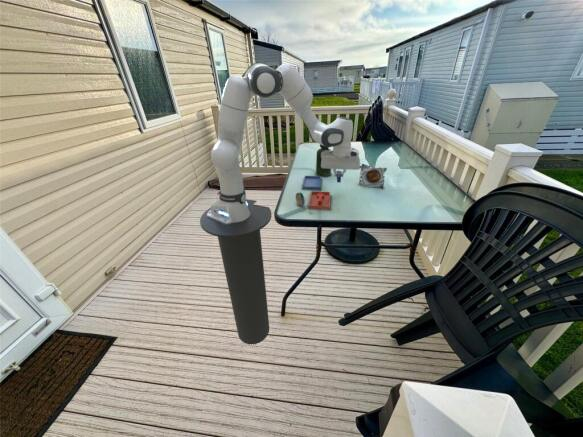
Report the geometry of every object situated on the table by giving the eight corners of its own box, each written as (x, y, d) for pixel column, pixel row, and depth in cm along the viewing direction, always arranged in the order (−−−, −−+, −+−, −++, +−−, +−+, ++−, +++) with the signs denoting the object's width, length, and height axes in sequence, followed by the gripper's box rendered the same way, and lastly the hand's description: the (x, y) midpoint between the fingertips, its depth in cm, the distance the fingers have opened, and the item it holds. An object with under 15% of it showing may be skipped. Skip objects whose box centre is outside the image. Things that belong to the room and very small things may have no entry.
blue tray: (320, 190, 151) (320, 187, 150) (302, 189, 152) (302, 186, 151) (321, 178, 166) (321, 176, 165) (304, 178, 168) (304, 175, 167)
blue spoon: (343, 182, 129) (343, 177, 127) (334, 182, 130) (335, 176, 128) (342, 173, 140) (342, 168, 138) (334, 173, 141) (334, 168, 139)
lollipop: (308, 218, 129) (294, 199, 137) (310, 217, 129) (296, 199, 138) (311, 208, 124) (296, 190, 132) (313, 207, 124) (298, 189, 133)
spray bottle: (313, 175, 172) (315, 139, 159) (318, 170, 180) (320, 135, 167) (327, 177, 168) (330, 140, 155) (332, 172, 176) (335, 137, 163)
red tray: (329, 209, 130) (330, 206, 129) (308, 208, 131) (308, 205, 130) (329, 194, 145) (330, 191, 144) (311, 194, 147) (311, 191, 146)
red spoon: (323, 206, 132) (324, 201, 130) (315, 205, 133) (315, 200, 131) (324, 195, 143) (324, 190, 141) (316, 195, 144) (317, 190, 142)
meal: (383, 186, 155) (387, 166, 148) (382, 189, 151) (386, 168, 144) (359, 183, 159) (362, 163, 153) (358, 185, 156) (361, 166, 149)
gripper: (321, 152, 124) (319, 177, 131) (362, 153, 121) (358, 179, 128) (321, 148, 129) (319, 173, 136) (360, 149, 127) (357, 175, 134)
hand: (338, 176), depth 132 cm, fingers closed on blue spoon, 2 cm apart
